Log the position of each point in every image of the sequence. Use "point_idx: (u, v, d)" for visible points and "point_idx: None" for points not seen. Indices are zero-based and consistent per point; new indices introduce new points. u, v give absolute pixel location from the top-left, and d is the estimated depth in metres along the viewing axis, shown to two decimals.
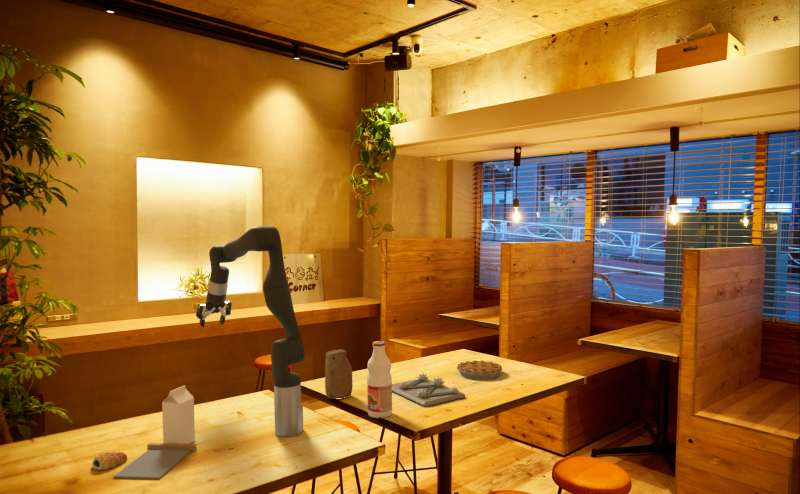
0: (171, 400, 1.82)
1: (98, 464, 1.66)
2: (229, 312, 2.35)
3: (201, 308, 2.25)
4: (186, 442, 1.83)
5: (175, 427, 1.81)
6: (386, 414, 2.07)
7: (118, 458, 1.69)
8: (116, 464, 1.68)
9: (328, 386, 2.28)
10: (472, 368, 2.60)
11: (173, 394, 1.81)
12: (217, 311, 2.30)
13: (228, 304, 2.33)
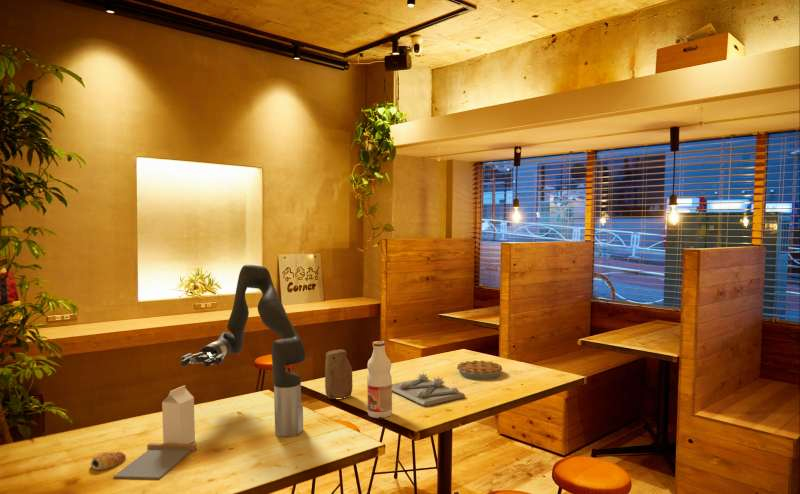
0: (171, 400, 1.82)
1: (97, 464, 1.66)
2: (218, 356, 2.01)
3: None
4: (186, 442, 1.83)
5: (175, 427, 1.81)
6: (386, 414, 2.07)
7: (117, 458, 1.69)
8: (115, 464, 1.68)
9: (328, 386, 2.28)
10: (472, 368, 2.60)
11: (173, 394, 1.81)
12: (205, 356, 2.02)
13: None
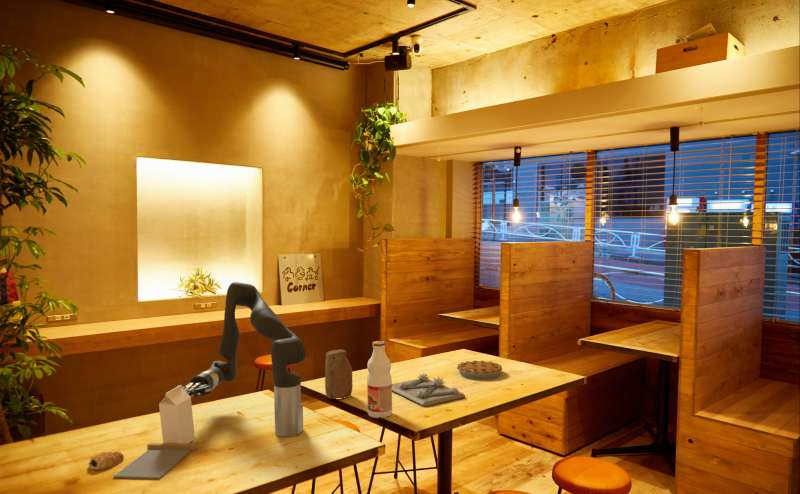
0: (168, 401, 1.81)
1: (95, 464, 1.66)
2: (196, 388, 1.92)
3: None
4: (186, 442, 1.83)
5: (174, 428, 1.80)
6: (386, 414, 2.07)
7: (115, 458, 1.69)
8: (113, 463, 1.68)
9: (328, 386, 2.28)
10: (472, 368, 2.60)
11: (169, 395, 1.80)
12: None
13: None
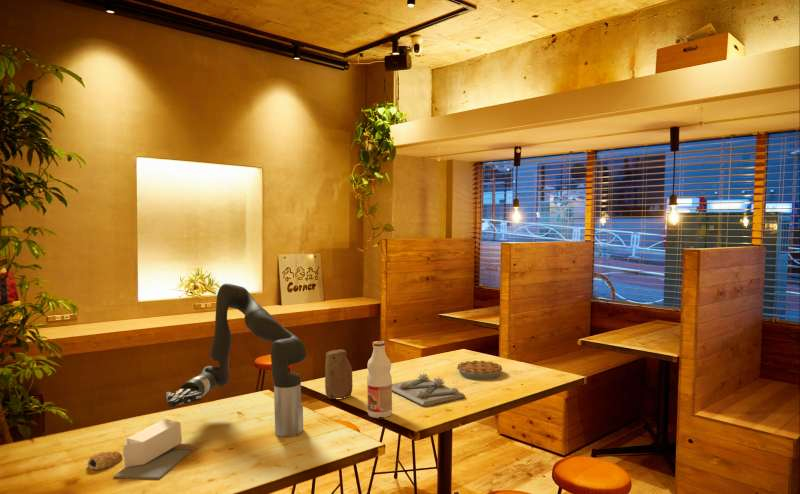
0: None
1: (94, 464, 1.66)
2: (186, 395, 1.85)
3: (168, 392, 1.88)
4: (179, 435, 1.79)
5: None
6: (386, 414, 2.07)
7: (114, 458, 1.69)
8: (112, 463, 1.68)
9: (328, 386, 2.28)
10: (472, 368, 2.60)
11: (129, 463, 1.66)
12: (182, 393, 1.88)
13: None
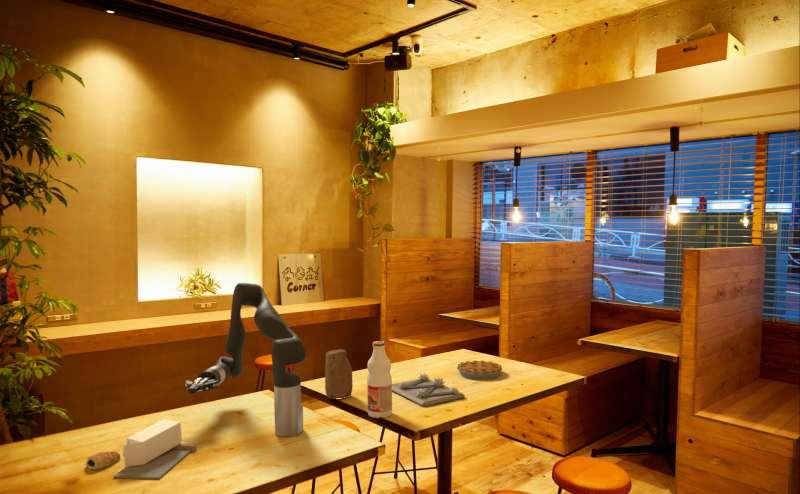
0: None
1: (92, 464, 1.67)
2: (204, 383, 1.98)
3: (187, 381, 2.02)
4: (179, 435, 1.79)
5: None
6: (386, 414, 2.07)
7: (112, 457, 1.69)
8: (111, 463, 1.69)
9: (328, 386, 2.28)
10: (472, 368, 2.60)
11: (129, 463, 1.66)
12: (200, 381, 2.02)
13: None
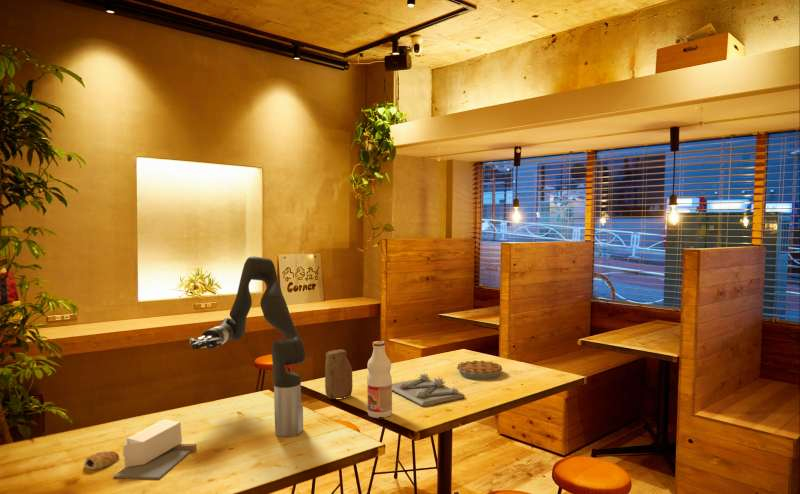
0: None
1: (91, 464, 1.67)
2: (208, 340, 2.02)
3: (191, 338, 2.05)
4: (179, 435, 1.79)
5: None
6: (386, 414, 2.07)
7: (111, 457, 1.70)
8: (110, 463, 1.69)
9: (328, 386, 2.28)
10: (472, 368, 2.60)
11: (129, 463, 1.66)
12: None
13: None
